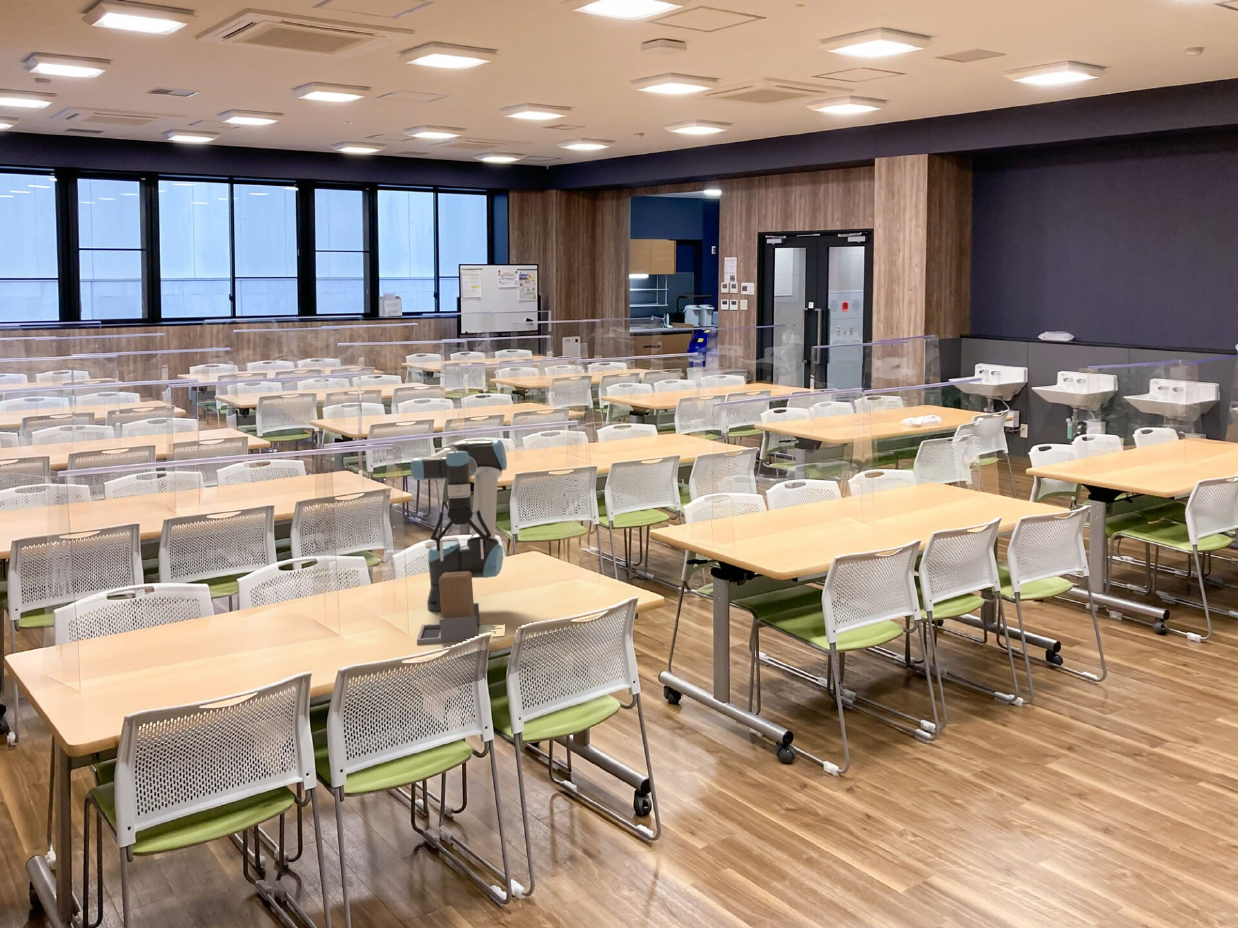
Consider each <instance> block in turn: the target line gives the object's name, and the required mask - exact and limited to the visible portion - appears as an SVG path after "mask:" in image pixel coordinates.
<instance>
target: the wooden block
mask: <svg viewBox="0 0 1238 928" xmlns="http://www.w3.org/2000/svg"><path fill="white" fill-rule="evenodd" d="M439 589H440V603H441V613H440V614H441V615H440V616H441V618H455V617H469V616H474V603H475V602H474V591H473V578H472V574H471V572H469V571H464V572H445V573H443V574H442V576H441V577H440V579H439Z"/></svg>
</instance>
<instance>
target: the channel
mask: <svg viewBox="0 0 1238 928" xmlns="http://www.w3.org/2000/svg"><path fill="white" fill-rule="evenodd" d="M438 620H439V624H440V632H441V643H452V642H453V643H454V641H456V642H466V641H465V640H466V639H470V638H474V637H475V636H478V627H480V625H481V620H480V605H479V602H474V616H469V617H455V618H442V617H441V618H439V619H438Z"/></svg>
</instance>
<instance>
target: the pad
mask: <svg viewBox="0 0 1238 928" xmlns="http://www.w3.org/2000/svg"><path fill="white" fill-rule="evenodd" d="M493 625H494V624H482V625H481V624H480V626H478V632H477V636H478V635H479V634H483V633H487V632H493V633H494V634H496V631H491V630H495V629H502V628H495V627H496V626H493ZM495 625H498V624H497V623H495ZM497 627H498V626H497Z"/></svg>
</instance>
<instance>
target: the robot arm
mask: <svg viewBox="0 0 1238 928" xmlns="http://www.w3.org/2000/svg"><path fill="white" fill-rule="evenodd" d="M507 462H508V461H507V453H506V449H505V445H504V443H503V442H502V440H500V439H491V438H489V439H477V440H476V439H475V440H474V439H473V440H460V441H456V442H453V443H449V444H446V445H445V446H443V447H440V448H439V450H438V451H437V452H436V453H433V454H432V455H429V456H427V457H418V458H413V459H412V460H411V462H410V463H411V464H410V474H411V477H412V478H413V480H417V481H418V480H421V481H423V480H438V479H439V480H440V479H442V480H443V479H444V480H445V479H447V496H448V497H449V498H448V500H447V501H448V512H444V511H441V512H439V515H438V516H439V518H438V521H437V523H436V525H435V527H434V530H433V532H432V534H431V536H430V540H431V541H434V542H435V543H436V544H435V545H433V546H432V547H430V548H429V549H428V553H427V554H428V559H427V562H428V571H429V581H430V589H429V593H428V597H427V609H428V610H430V611H433V612H441V603H440V589H439V579H440V577H441V576H442V574H443V573H445V572H464V571H469V572H471V574H472V579H475V578H477V579H479V578H484V579H487V578H495V577H497V576H498V575H499V574H500V572H501V571H502V567H503V561H504V548H503V546H502V545H501V544H500V542H499V540H498V539H497V538H496V523H497V521H496V520H497V501H498V499H497V497H498V479H499V478H501V477H502V474H503V471H505V470H507V467H508V463H507ZM471 477H473V478H474V486H473V501H472V500H471V499H472V498H471V497H470V496H471V481H470V480H471V479H470V478H471ZM471 501H472V502H471ZM446 517H448V519H449V520H450V521H449V522H448V523H447V525H446V526H445V527H444V529H443V530H442V531H441V532H440V534H439V535H438V536H437V534H438V532H439V530H440V527H441V526H442V523H443V520H445V519H446ZM471 518H472V520H471ZM467 524H468V525H469V526H470V527H471V536H470V537H469V538H467V542H466V545H463V546H461V543H460V542H459V541H452V540H451V541H446V542H443V540H441V539H443V538H444V536H445V534H446V533H447V532H448V531H449V529H450V528H451V526H453V525H456V526H458V525H462V526H463V525H467Z"/></svg>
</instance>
